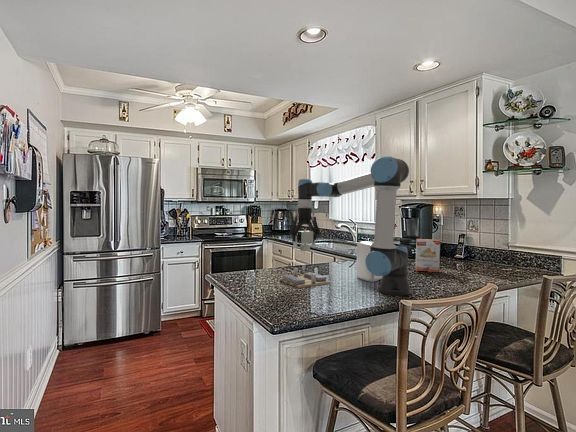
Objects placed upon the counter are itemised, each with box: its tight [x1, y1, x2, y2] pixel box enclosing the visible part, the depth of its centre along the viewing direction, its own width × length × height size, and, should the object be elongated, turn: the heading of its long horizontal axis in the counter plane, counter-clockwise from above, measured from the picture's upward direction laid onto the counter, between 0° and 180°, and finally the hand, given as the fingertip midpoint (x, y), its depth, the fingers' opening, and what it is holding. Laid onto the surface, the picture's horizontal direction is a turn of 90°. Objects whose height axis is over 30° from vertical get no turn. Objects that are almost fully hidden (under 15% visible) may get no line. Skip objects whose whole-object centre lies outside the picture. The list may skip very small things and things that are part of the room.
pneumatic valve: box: [296, 228, 317, 252], centre depth 189 cm, size 6×12×12 cm, turn 119°
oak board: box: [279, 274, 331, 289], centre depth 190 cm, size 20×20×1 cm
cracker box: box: [415, 238, 441, 273], centre depth 222 cm, size 14×6×21 cm, turn 73°
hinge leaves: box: [282, 267, 327, 284], centre depth 190 cm, size 20×19×5 cm
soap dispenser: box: [356, 240, 382, 283], centre depth 199 cm, size 15×14×22 cm
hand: (304, 247), depth 189 cm, fingers closed on pneumatic valve, 11 cm apart
